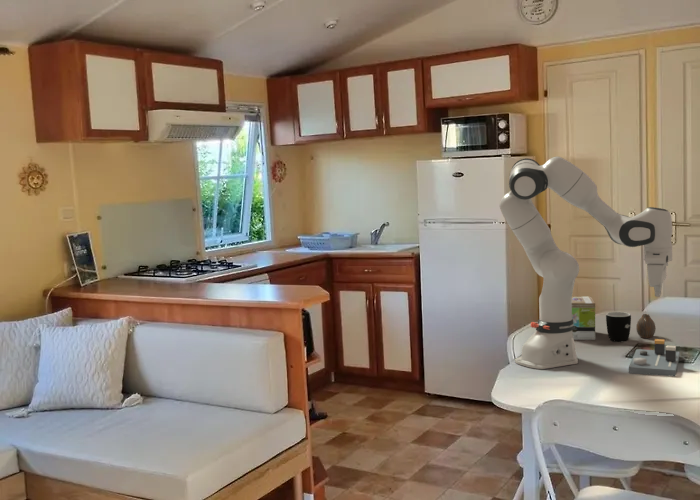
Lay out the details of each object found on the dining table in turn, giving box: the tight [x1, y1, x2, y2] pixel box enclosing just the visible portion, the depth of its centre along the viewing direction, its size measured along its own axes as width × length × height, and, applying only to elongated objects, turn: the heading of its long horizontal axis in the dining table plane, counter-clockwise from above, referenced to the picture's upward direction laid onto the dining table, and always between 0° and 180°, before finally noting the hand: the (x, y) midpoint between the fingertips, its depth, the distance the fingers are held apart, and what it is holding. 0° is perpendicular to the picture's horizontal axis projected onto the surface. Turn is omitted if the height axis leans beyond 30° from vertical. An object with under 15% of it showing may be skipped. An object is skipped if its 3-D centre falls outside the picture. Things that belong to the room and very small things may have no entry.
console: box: [628, 348, 681, 377], centre depth 255 cm, size 24×14×4 cm, turn 154°
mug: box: [605, 311, 632, 343], centre depth 291 cm, size 12×9×10 cm
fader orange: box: [654, 338, 666, 354], centre depth 260 cm, size 2×3×4 cm
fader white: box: [665, 345, 677, 361], centre depth 251 cm, size 2×3×4 cm
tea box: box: [572, 296, 596, 341], centre depth 300 cm, size 15×10×15 cm, turn 168°
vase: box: [636, 313, 656, 339], centre depth 293 cm, size 7×7×9 cm
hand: (657, 295), depth 257 cm, fingers closed
